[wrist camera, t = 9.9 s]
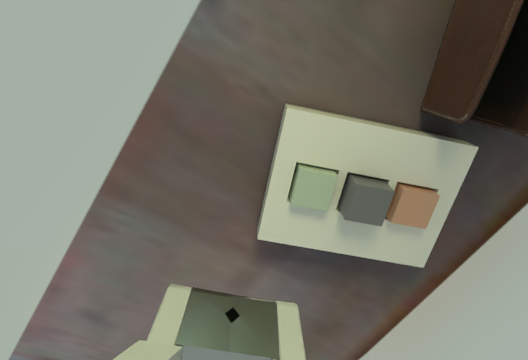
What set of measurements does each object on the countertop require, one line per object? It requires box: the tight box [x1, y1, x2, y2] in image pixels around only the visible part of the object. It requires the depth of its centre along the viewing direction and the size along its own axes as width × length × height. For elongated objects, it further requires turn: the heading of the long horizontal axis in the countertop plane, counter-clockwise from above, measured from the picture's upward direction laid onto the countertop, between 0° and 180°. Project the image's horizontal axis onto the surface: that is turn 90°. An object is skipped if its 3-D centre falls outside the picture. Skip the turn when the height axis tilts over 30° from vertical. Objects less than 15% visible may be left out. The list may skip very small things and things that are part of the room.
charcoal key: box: [338, 174, 395, 227], centre depth 34 cm, size 4×4×3 cm
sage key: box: [289, 162, 338, 211], centre depth 35 cm, size 4×4×3 cm
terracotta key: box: [386, 182, 440, 229], centre depth 36 cm, size 4×4×3 cm
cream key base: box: [257, 103, 479, 268], centre depth 36 cm, size 15×20×4 cm
